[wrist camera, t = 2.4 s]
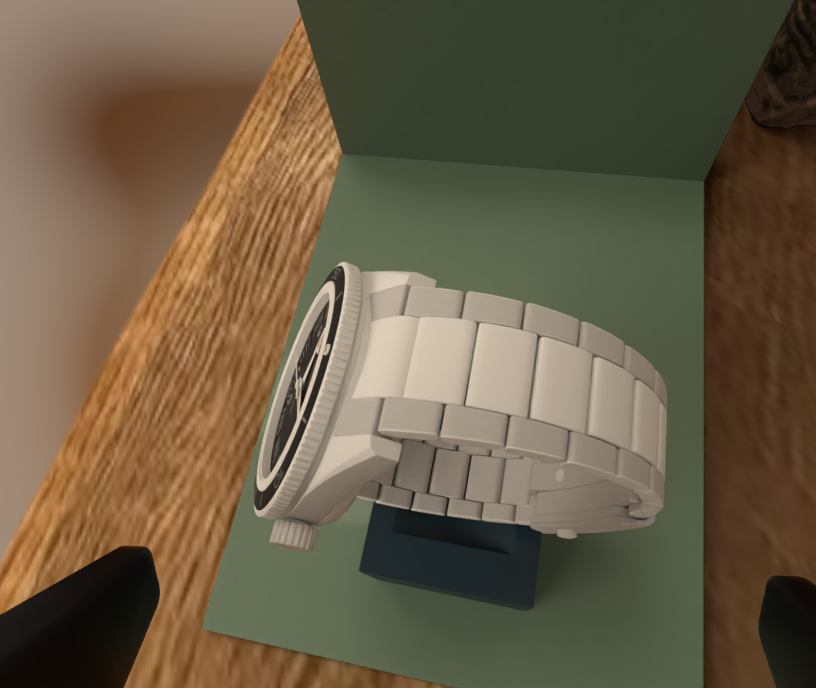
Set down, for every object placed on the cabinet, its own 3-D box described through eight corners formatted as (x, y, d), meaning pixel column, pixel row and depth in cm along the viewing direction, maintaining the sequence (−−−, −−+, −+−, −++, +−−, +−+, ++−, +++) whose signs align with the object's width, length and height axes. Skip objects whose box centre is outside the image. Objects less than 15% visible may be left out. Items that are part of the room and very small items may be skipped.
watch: (356, 396, 21) (239, 181, 11) (604, 434, 19) (732, 227, 9) (314, 569, 18) (116, 503, 9) (589, 628, 17) (737, 630, 7)
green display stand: (699, 742, 16) (877, 838, 9) (205, 629, 18) (28, 630, 11) (701, 147, 24) (796, -62, 17) (354, 123, 26) (306, -67, 19)
